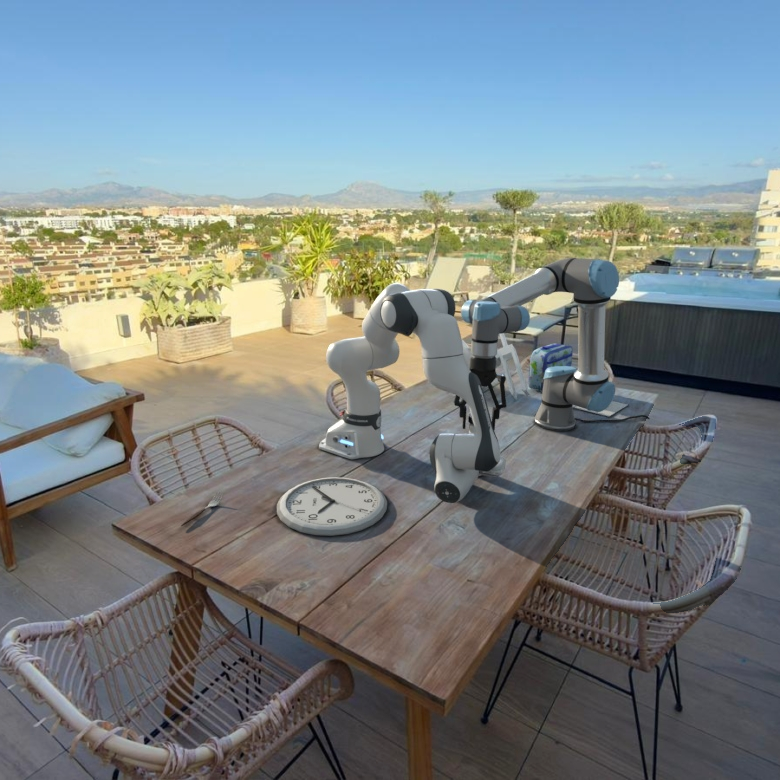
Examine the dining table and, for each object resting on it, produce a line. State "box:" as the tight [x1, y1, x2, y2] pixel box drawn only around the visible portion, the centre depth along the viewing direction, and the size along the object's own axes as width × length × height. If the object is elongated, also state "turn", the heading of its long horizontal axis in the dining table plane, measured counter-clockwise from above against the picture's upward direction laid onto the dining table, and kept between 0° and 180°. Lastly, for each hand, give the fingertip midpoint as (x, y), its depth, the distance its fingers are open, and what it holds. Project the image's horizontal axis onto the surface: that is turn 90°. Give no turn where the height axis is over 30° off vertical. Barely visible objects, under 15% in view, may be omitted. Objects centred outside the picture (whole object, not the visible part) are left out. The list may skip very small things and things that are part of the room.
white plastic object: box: [461, 333, 531, 400], centre depth 245 cm, size 37×45×31 cm
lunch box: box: [528, 343, 574, 392], centre depth 249 cm, size 26×11×21 cm, turn 134°
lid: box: [467, 412, 474, 425], centre depth 158 cm, size 6×6×2 cm
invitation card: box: [573, 400, 629, 418], centre depth 226 cm, size 21×1×15 cm
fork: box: [180, 491, 225, 527], centre depth 138 cm, size 3×16×2 cm, turn 160°
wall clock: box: [276, 476, 388, 537], centre depth 142 cm, size 30×2×30 cm
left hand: (477, 451), depth 163 cm, fingers closed on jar, 5 cm apart
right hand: (478, 427), depth 159 cm, fingers open, 8 cm apart
